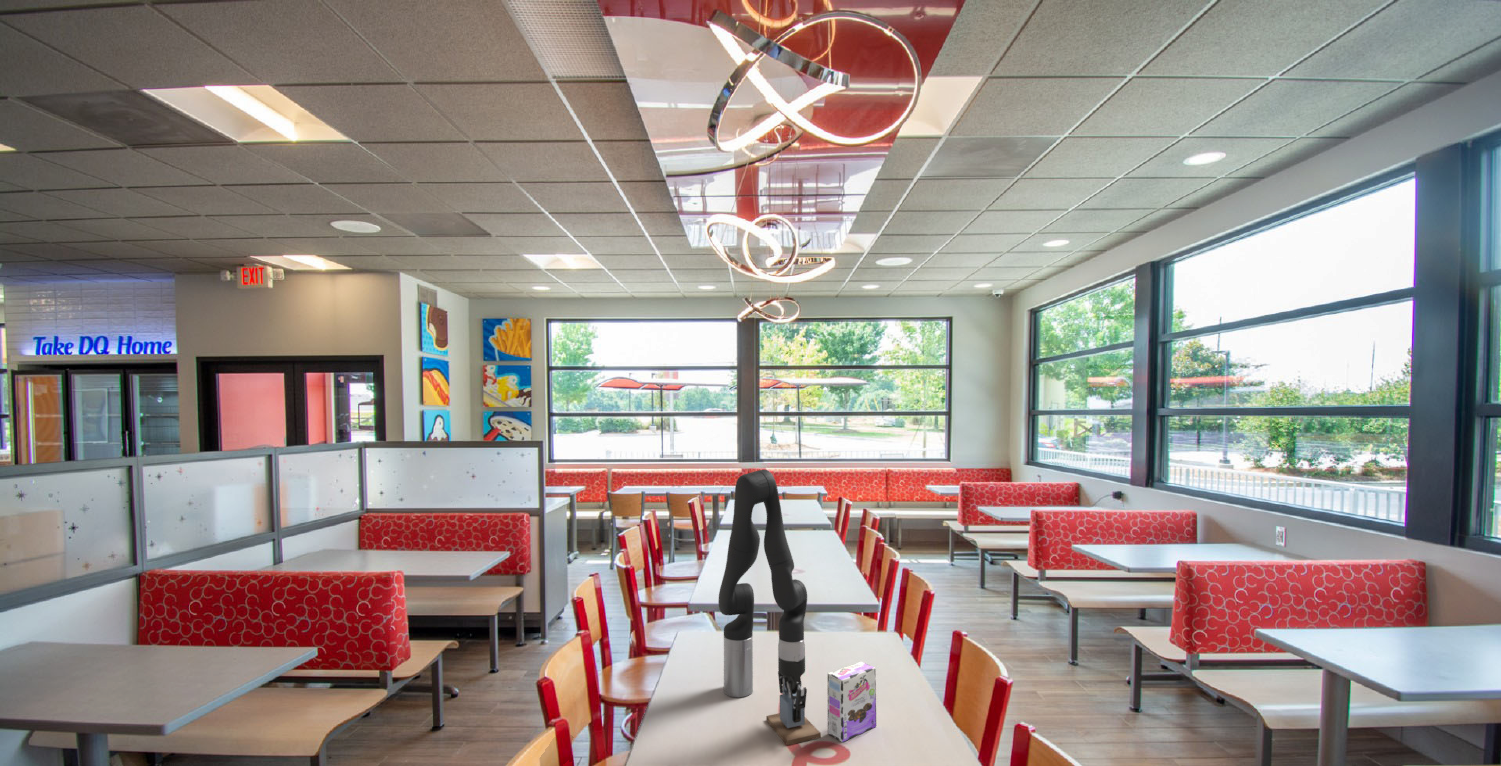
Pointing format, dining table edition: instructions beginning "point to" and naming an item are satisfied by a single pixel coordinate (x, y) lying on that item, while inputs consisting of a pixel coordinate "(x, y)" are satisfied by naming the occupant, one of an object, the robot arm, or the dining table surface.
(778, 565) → the robot arm
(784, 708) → the blue-gray block
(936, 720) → the dining table surface
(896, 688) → the dining table surface
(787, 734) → the post stand
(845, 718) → the candy box
